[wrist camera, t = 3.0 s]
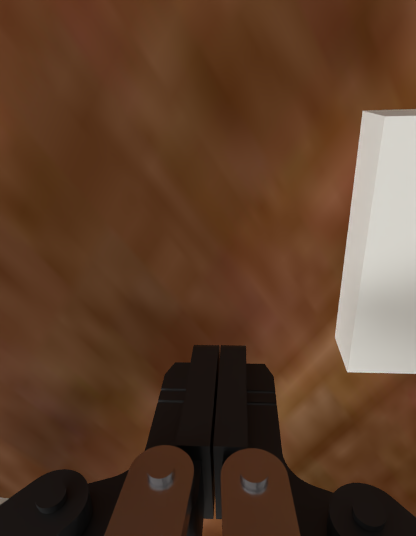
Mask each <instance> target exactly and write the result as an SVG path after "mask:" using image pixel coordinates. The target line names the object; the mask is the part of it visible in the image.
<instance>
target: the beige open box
mask: <svg viewBox="0 0 416 536" xmlns="http://www.w3.org/2000/svg"><path fill="white" fill-rule="evenodd" d="M6 500H8V498H0V505H1V504H2V503H4V502H5V501H6Z"/></svg>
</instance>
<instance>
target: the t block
mask: <svg viewBox="0 0 416 536" xmlns="http://www.w3.org/2000/svg"><path fill="white" fill-rule="evenodd" d="M335 339H336V342H337V345H338V347H339V350H340V353H341V356H342V359H343V361H344V364H345V367H346V370H347V372H365V373H406V374H416V109H404V110H369V111H363V114H362V122H361V130H360V138H359V146H358V154H357V162H356V170H355V178H354V187H353V195H352V203H351V211H350V219H349V227H348V235H347V243H346V251H345V259H344V268H343V276H342V284H341V292H340V300H339V308H338V316H337V324H336V332H335Z"/></svg>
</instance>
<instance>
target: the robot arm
mask: <svg viewBox="0 0 416 536" xmlns="http://www.w3.org/2000/svg"><path fill="white" fill-rule="evenodd" d="M214 500H215V502H216V519H222V536H416V517H415V516H413V515H412V514H411V513H410V512H409V511H407V510H406V509H405V508H404V507H403V506H401V505H400V504H399V503H398V502H397V501H396V500H394V499H393V498H392V497H391V496H389V495H388V494H387V493H385V492H384V491H382V490H380V489H379V488H376V487H374V486H371V485H368V484H363V483H351V484H346V485H344V486H342V487H340V488H338V489H337V490H336V491H335V492H334V493H332V492H329V491H327V490H324V489H321V488H318V487H315V486H313V485H310V484H308V483H306V482H304V481H303V480H301V479H300V478H298V477H297V476H296V475H295V474H294V473H293V472H292V471H291V470H290V469H289V468H288V466H287V464H286V463H285V460H284V458H283V454H282V447H281V439H280V430H279V421H278V412H277V405H276V394H275V385H274V377H273V375H272V374H271V372H270V371H269V369H268V368H267V367H266V365H265V364H246V346H229V345H221V350H220V351H219V345H194V347H193V352H192V358H191V363H176V362H175V364H174V365H173V366H172V367H171V368H170V369H169V370H168V372H167V373H166V374H165V376H164V380H163V384H162V388H161V392H160V396H159V399H158V403H157V407H156V411H155V415H154V419H153V422H152V426H151V430H150V434H149V438H148V441H147V445H146V448H145V451H144V452H142V453H141V454H140V455H139V456H138V457H137V458H136V459H135V460H134V461H133V463H132V464H131V466H130V468H129V470H127V471H126V472H124V473H122V474H120V475H118V476H115V477H112V478H108V479H104V480H101V481H97V482H93V483H89V484H87V482H86V480H85V478H84V477H83V476H82V475H81V474H80V473H78V472H76V471H73V470H66V469H64V470H56V471H52V472H49V473H47V474H45V475H43V476H41V477H39V478H38V479H36V480H35V481H33V482H32V483H30V484H29V485H27V486H26V487H25V488H23V489H22V490H20V491H19V492H18V493H16V494H15V495H13V496H12V497H11V498H9V499H8V500H6V501H5V502H4V503H2V504H1V505H0V536H202V529H203V518H205V519H213V516H214Z"/></svg>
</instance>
